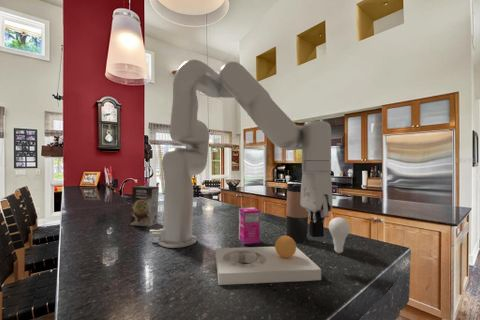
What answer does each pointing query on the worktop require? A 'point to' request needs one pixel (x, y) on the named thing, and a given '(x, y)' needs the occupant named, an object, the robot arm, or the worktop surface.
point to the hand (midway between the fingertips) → (316, 236)
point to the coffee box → (144, 205)
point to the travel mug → (296, 214)
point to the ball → (285, 246)
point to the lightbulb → (339, 232)
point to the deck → (263, 266)
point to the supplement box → (249, 226)
